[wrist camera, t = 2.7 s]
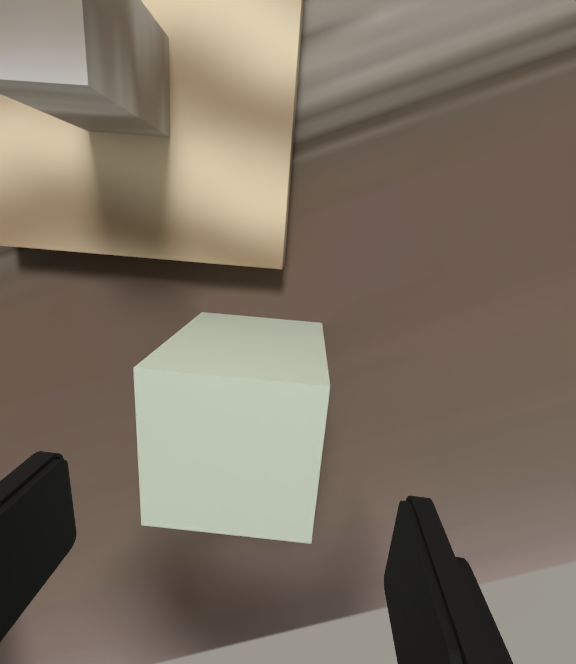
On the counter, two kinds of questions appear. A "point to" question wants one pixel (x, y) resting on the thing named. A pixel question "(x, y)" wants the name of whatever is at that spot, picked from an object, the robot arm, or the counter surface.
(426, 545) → the robot arm
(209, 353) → the pale green block
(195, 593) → the counter surface
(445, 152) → the counter surface
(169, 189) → the post board
